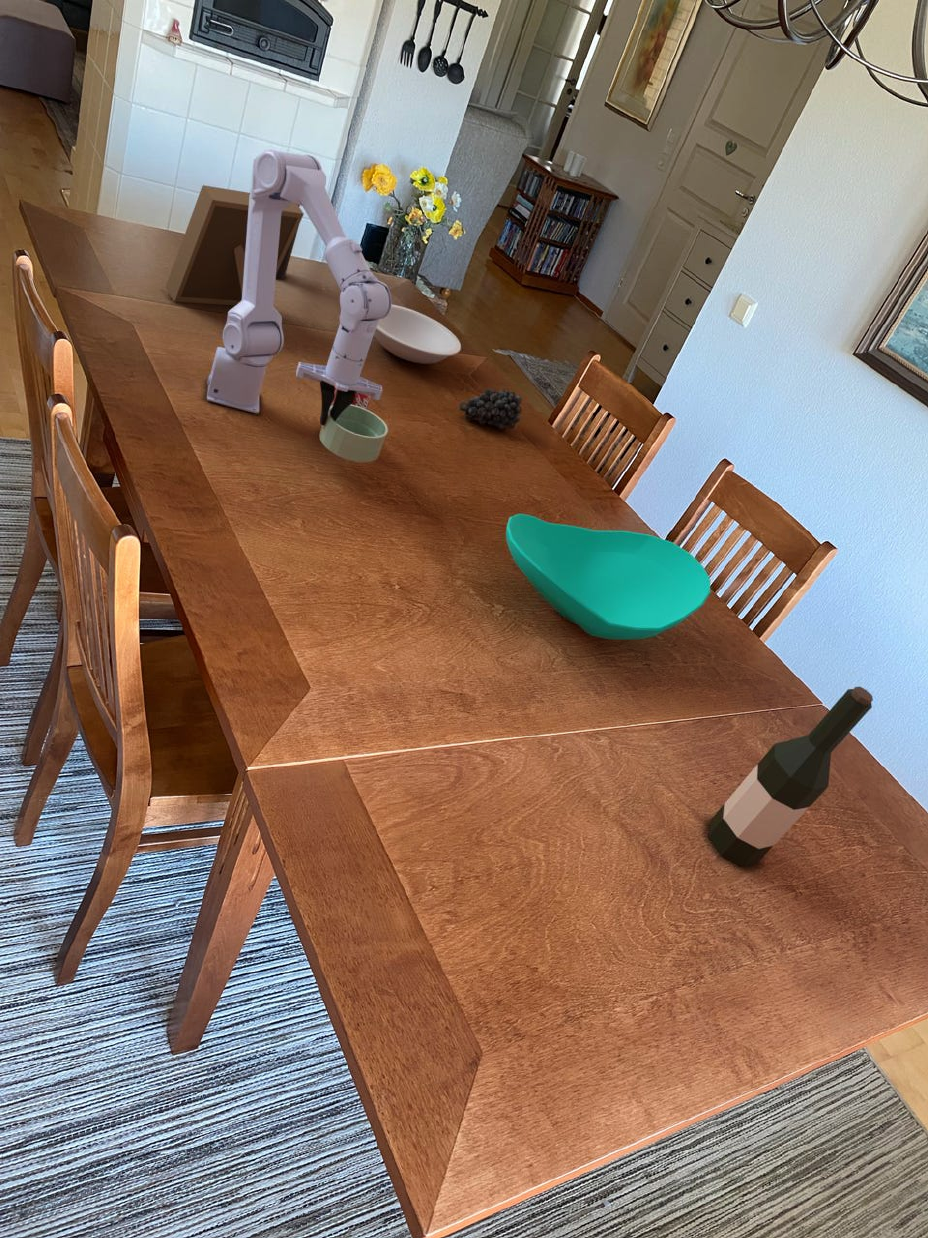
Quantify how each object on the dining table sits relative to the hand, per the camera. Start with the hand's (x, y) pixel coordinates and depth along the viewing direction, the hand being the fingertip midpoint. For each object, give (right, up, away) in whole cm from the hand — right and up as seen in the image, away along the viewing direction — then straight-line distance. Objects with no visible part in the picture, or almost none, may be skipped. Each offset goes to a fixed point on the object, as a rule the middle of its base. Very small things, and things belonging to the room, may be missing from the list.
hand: (325, 423), depth 161 cm
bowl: (+3, -3, +4) cm, 6 cm away
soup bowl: (+10, +29, +61) cm, 68 cm away
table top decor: (+44, -33, 0) cm, 55 cm away
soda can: (0, 0, +15) cm, 15 cm away
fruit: (+28, +10, +48) cm, 56 cm away
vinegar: (-24, +51, +68) cm, 88 cm away
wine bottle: (+62, -65, -31) cm, 95 cm away
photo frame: (-28, +33, +40) cm, 59 cm away
